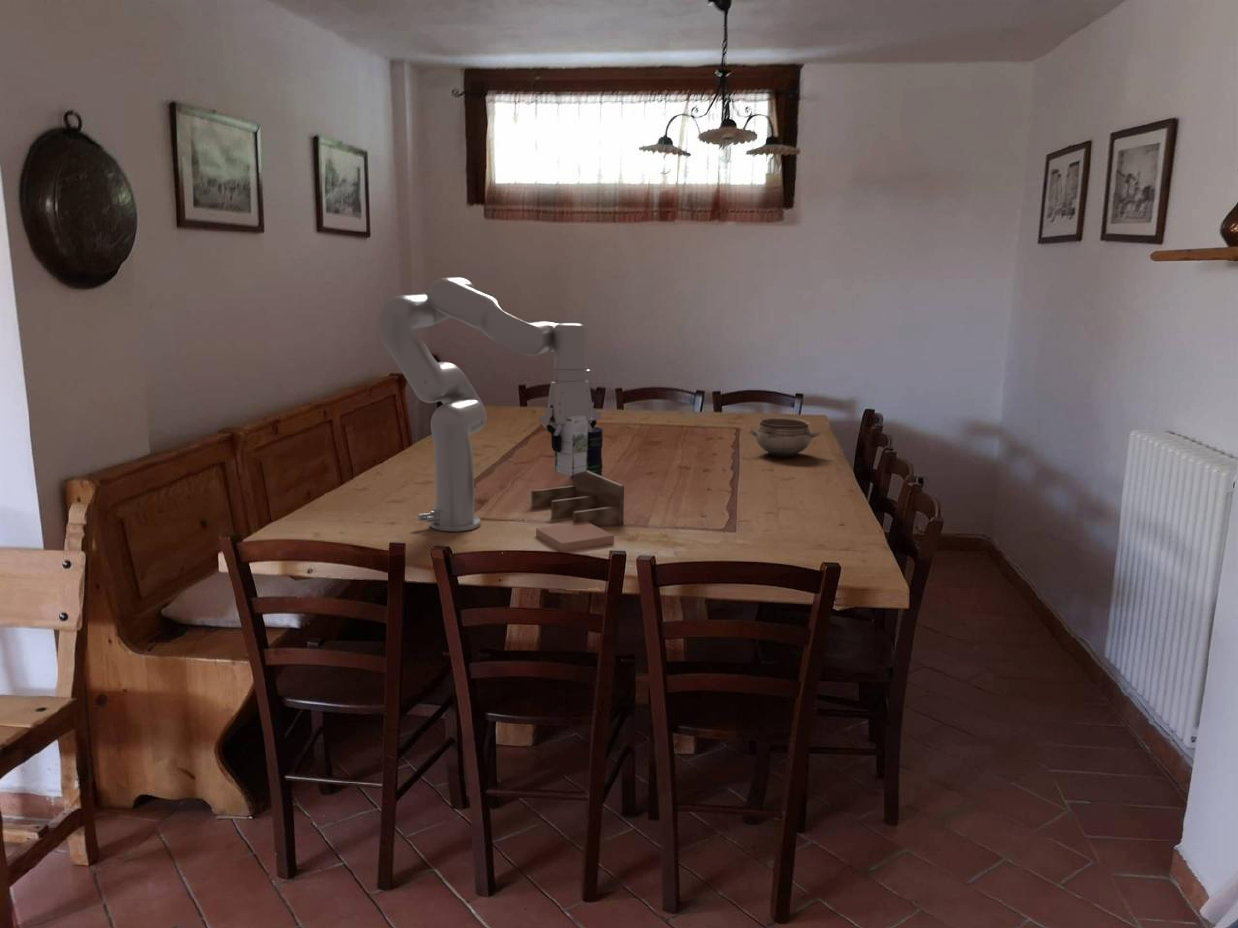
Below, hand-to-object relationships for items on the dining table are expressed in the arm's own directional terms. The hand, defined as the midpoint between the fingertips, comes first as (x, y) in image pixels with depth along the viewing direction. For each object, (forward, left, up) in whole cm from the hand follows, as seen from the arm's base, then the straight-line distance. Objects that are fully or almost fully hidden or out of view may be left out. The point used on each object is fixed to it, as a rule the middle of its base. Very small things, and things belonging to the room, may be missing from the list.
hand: (571, 448), depth 226 cm
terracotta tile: (0, -2, -22) cm, 22 cm away
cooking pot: (+111, +52, -22) cm, 125 cm away
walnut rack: (+11, +18, -22) cm, 30 cm away
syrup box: (0, 0, -6) cm, 6 cm away
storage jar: (+35, +56, -22) cm, 69 cm away
